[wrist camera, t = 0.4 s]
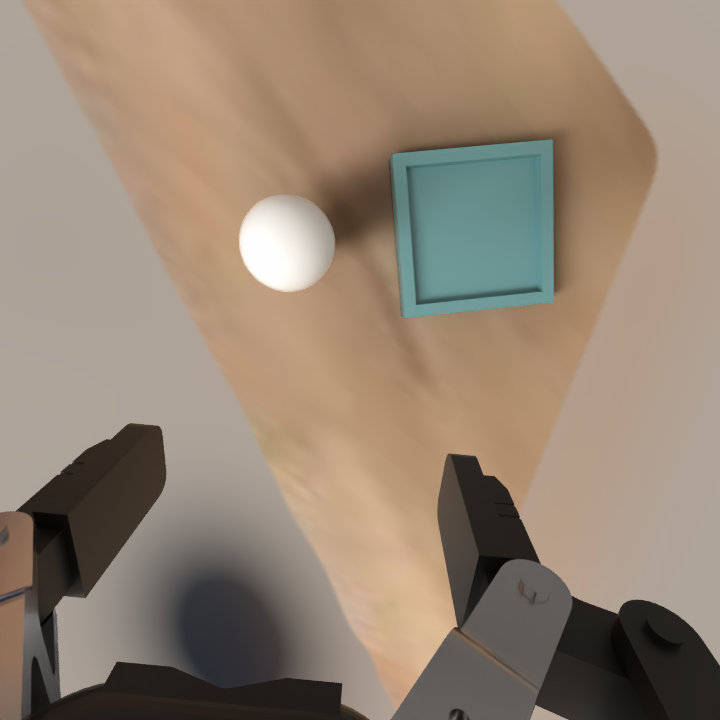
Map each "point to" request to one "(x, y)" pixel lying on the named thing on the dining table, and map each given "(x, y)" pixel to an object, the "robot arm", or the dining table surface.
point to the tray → (474, 227)
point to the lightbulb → (287, 242)
